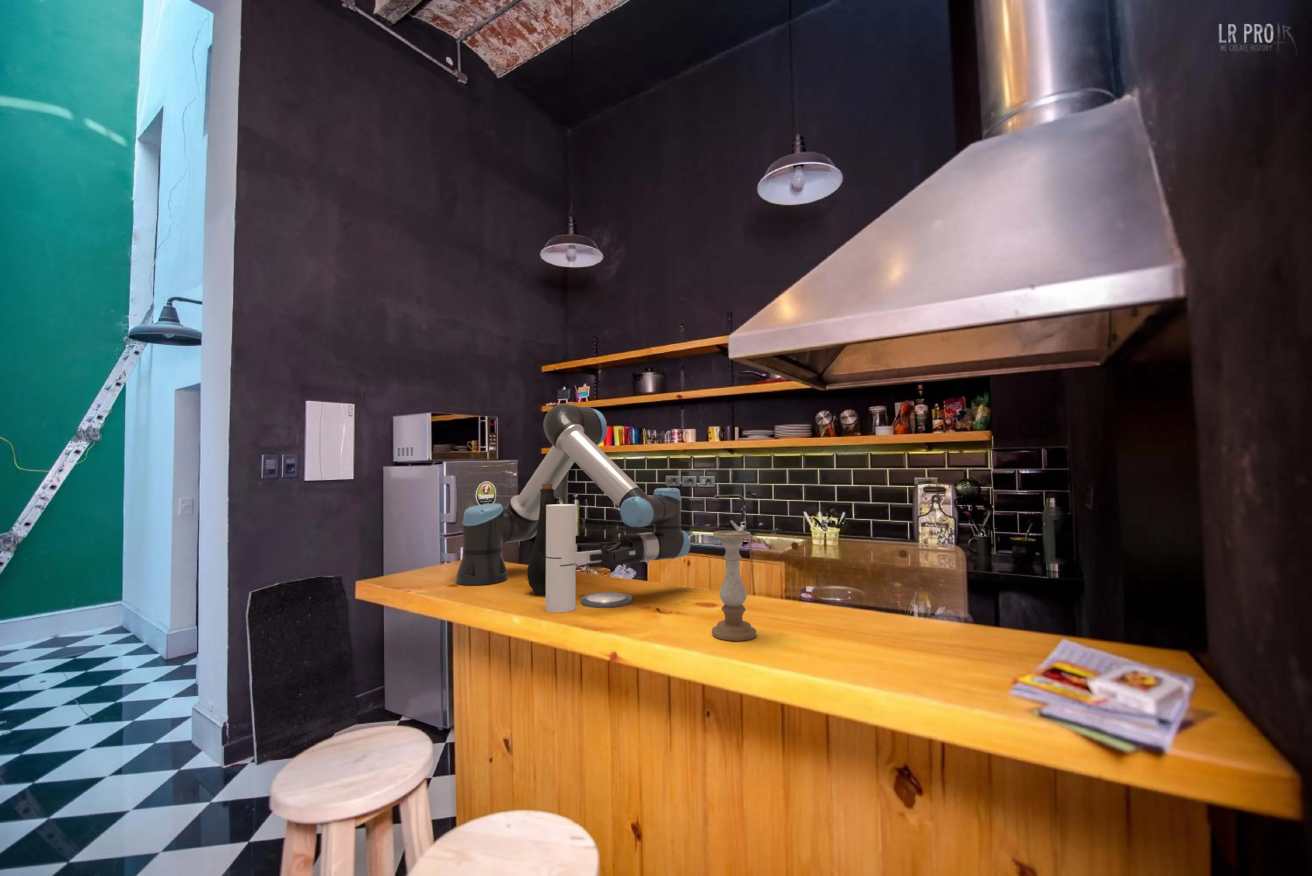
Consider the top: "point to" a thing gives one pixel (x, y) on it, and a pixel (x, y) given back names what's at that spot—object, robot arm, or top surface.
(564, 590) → the cylindrical container
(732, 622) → the candle holder
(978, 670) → the top surface
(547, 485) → the bottle
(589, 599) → the base plate
